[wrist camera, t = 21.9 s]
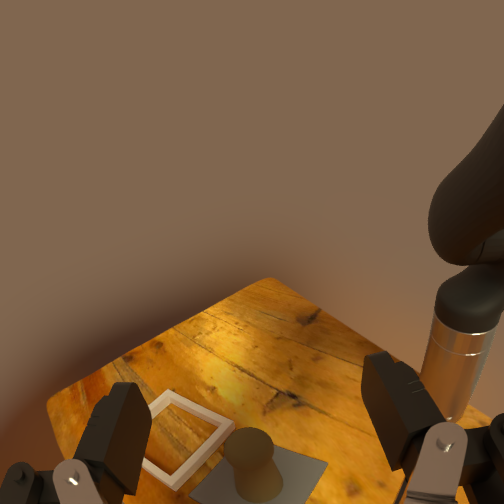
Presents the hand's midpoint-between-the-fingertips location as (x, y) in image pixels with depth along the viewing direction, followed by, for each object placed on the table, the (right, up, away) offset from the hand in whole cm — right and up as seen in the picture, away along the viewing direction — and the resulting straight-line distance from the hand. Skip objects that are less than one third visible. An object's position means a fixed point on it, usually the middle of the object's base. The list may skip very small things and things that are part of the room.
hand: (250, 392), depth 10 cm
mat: (+1, -25, +21) cm, 32 cm away
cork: (+1, -24, +20) cm, 32 cm away
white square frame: (-12, -23, +29) cm, 39 cm away
